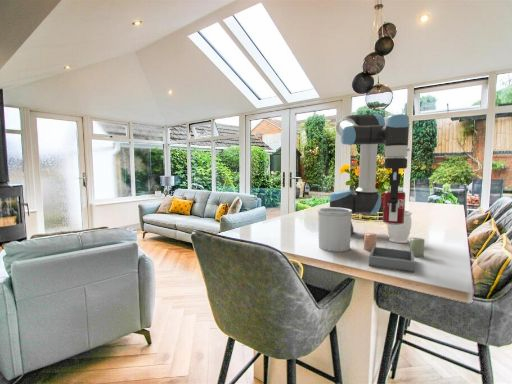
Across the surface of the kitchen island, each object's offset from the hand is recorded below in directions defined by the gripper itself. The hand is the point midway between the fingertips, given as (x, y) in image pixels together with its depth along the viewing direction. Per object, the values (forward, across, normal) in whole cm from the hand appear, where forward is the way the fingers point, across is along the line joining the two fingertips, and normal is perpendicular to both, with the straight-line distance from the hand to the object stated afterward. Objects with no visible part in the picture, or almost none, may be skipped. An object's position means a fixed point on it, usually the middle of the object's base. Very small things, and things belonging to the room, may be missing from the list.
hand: (393, 219), depth 104 cm
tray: (+17, 0, 0) cm, 17 cm away
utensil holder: (+17, +11, +24) cm, 32 cm away
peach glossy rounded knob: (+17, +15, +9) cm, 24 cm away
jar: (+17, +37, -2) cm, 41 cm away
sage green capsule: (+17, +15, -9) cm, 24 cm away
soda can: (+2, 0, 0) cm, 2 cm away
